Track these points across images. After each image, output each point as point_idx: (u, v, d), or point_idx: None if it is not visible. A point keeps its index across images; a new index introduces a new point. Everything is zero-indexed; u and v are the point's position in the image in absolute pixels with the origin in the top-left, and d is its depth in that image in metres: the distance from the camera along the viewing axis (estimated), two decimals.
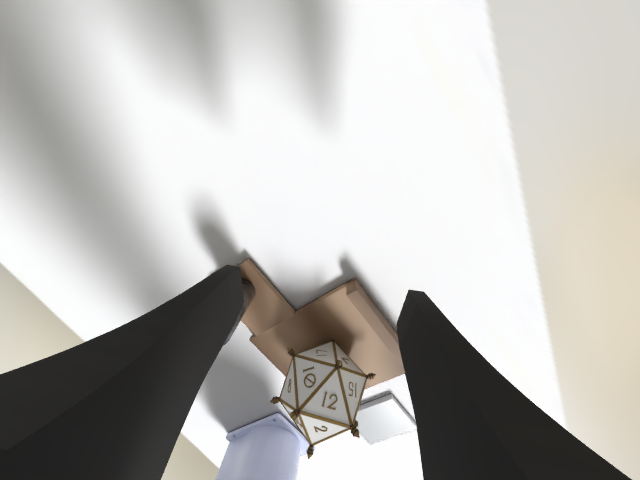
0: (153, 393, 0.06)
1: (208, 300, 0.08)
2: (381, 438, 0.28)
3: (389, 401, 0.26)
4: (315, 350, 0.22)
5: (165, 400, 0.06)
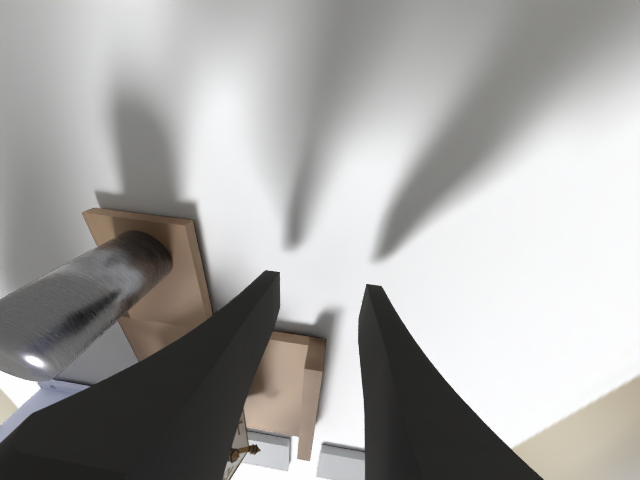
0: (219, 404, 0.06)
1: (258, 307, 0.08)
2: (245, 461, 0.24)
3: (283, 446, 0.21)
4: None
5: (226, 411, 0.06)
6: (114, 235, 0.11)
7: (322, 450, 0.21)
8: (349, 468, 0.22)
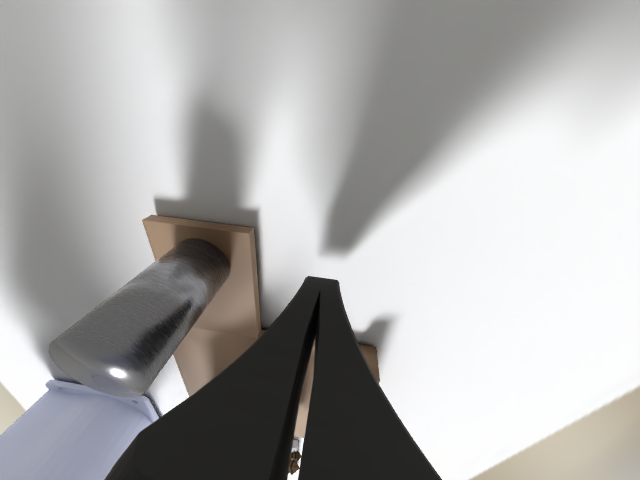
0: (291, 417, 0.06)
1: (312, 315, 0.08)
2: None
3: None
4: None
5: (292, 422, 0.06)
6: (173, 243, 0.11)
7: None
8: None
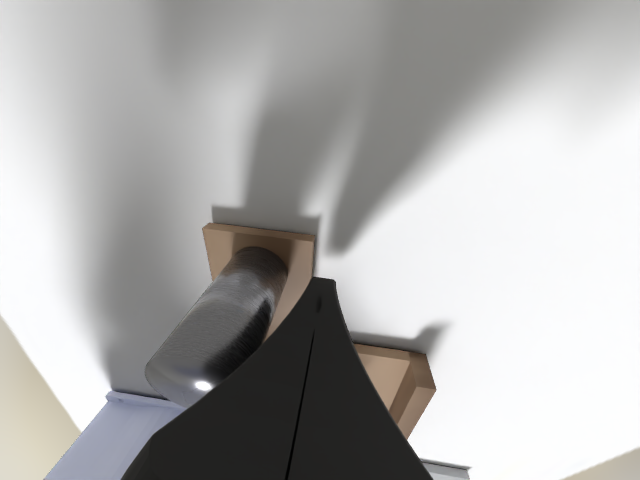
0: None
1: None
2: None
3: None
4: None
5: None
6: (231, 251, 0.11)
7: None
8: None
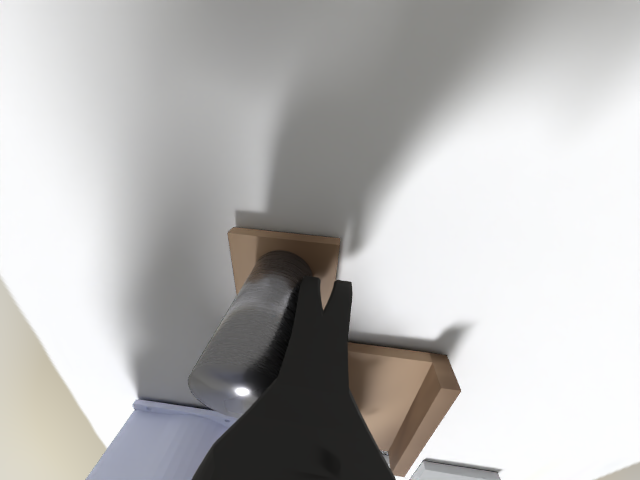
0: None
1: None
2: None
3: None
4: None
5: None
6: (256, 255, 0.11)
7: (425, 467, 0.21)
8: None
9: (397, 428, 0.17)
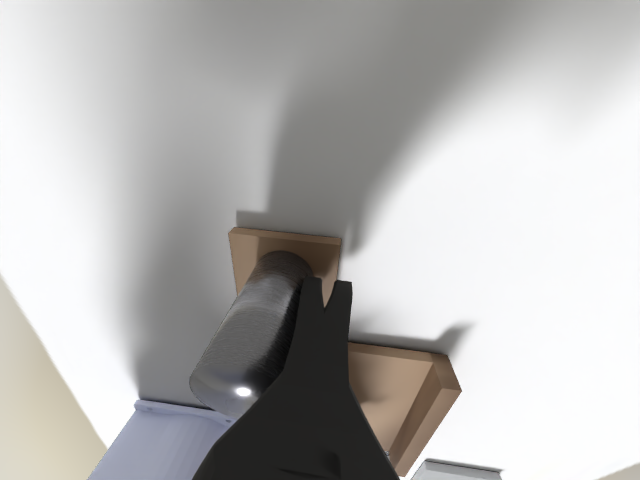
0: None
1: None
2: None
3: None
4: None
5: None
6: (256, 255, 0.11)
7: (427, 467, 0.21)
8: None
9: (398, 428, 0.17)
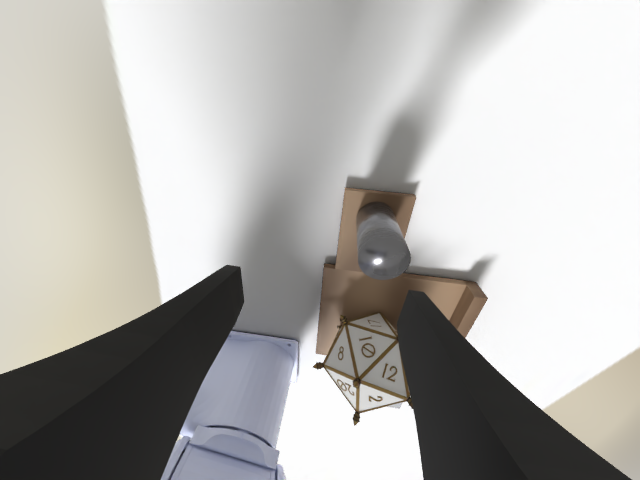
0: (153, 393, 0.06)
1: (208, 300, 0.08)
2: None
3: None
4: (366, 320, 0.20)
5: (165, 400, 0.06)
6: (359, 205, 0.17)
7: None
8: None
9: None
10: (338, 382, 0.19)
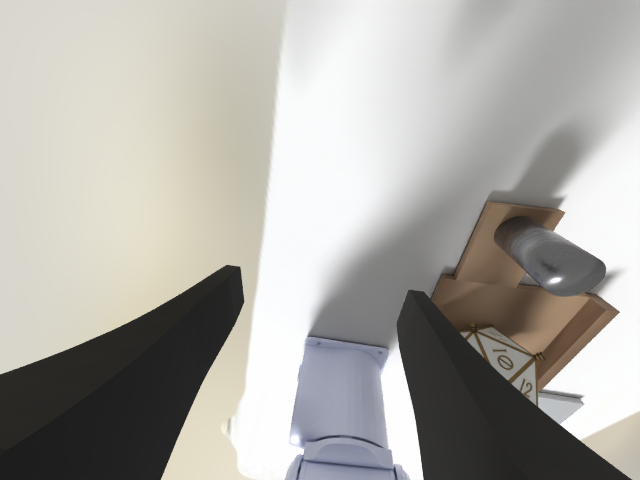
0: (153, 393, 0.06)
1: (208, 300, 0.08)
2: None
3: None
4: (489, 332, 0.20)
5: (165, 400, 0.06)
6: (502, 219, 0.17)
7: None
8: None
9: None
10: None
